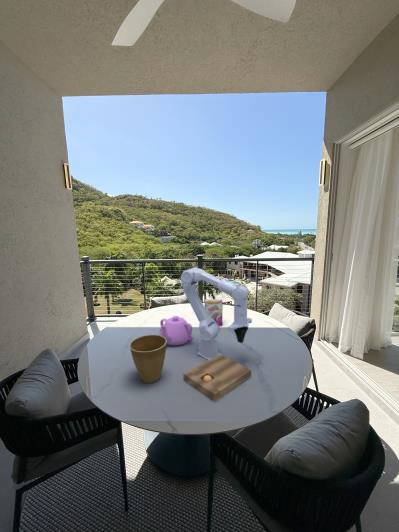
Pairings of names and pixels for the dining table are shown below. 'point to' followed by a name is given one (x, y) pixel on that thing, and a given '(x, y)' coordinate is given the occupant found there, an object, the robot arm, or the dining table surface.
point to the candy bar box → (214, 309)
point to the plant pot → (149, 356)
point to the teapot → (176, 331)
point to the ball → (207, 378)
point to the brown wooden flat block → (217, 376)
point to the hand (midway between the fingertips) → (240, 341)
